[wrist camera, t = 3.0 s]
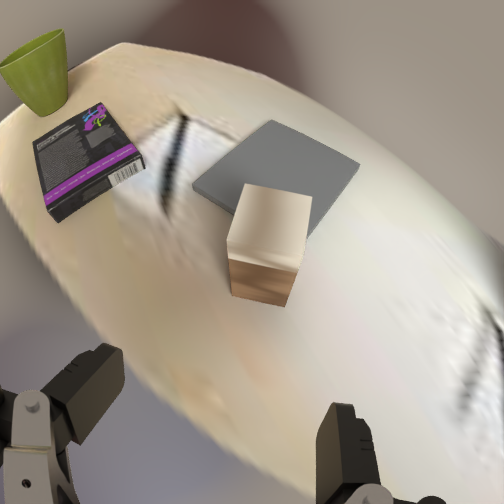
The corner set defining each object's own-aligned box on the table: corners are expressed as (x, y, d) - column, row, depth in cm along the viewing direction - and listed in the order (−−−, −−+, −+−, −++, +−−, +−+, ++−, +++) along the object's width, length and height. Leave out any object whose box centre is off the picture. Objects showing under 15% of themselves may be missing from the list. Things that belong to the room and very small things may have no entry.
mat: (358, 169, 37) (360, 164, 36) (295, 254, 30) (296, 249, 29) (271, 124, 40) (271, 119, 40) (193, 189, 34) (192, 184, 33)
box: (147, 173, 37) (106, 114, 44) (142, 154, 34) (101, 98, 41) (58, 228, 32) (38, 153, 39) (46, 212, 29) (30, 139, 36)
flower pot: (25, 109, 47) (3, 56, 33) (80, 79, 51) (63, 23, 37) (22, 139, 41) (-9, 76, 27) (86, 103, 45) (64, 34, 31)
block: (293, 260, 30) (312, 196, 21) (284, 307, 27) (303, 256, 19) (244, 250, 30) (244, 183, 22) (232, 295, 28) (226, 240, 19)
